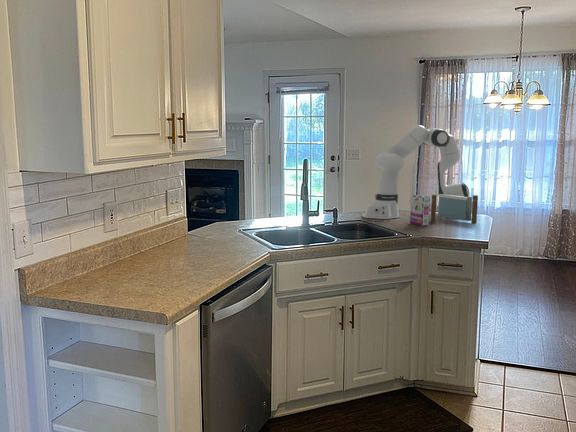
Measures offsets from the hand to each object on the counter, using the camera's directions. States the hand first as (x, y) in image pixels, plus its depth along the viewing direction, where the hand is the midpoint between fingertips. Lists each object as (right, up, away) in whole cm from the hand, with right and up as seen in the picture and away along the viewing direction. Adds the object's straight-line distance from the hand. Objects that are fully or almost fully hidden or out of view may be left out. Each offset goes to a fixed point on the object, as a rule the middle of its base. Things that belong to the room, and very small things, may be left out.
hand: (452, 208), depth 335 cm
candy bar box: (-24, -9, -19) cm, 33 cm away
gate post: (+8, -8, -15) cm, 19 cm away
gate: (-1, -6, -7) cm, 9 cm away
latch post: (-15, -8, -14) cm, 22 cm away
